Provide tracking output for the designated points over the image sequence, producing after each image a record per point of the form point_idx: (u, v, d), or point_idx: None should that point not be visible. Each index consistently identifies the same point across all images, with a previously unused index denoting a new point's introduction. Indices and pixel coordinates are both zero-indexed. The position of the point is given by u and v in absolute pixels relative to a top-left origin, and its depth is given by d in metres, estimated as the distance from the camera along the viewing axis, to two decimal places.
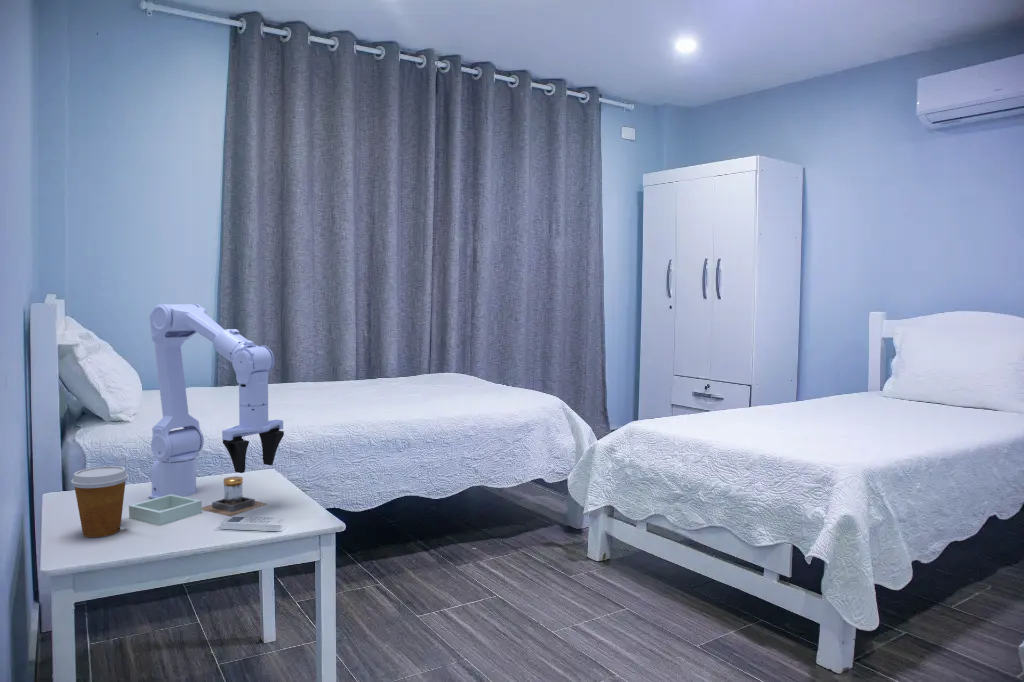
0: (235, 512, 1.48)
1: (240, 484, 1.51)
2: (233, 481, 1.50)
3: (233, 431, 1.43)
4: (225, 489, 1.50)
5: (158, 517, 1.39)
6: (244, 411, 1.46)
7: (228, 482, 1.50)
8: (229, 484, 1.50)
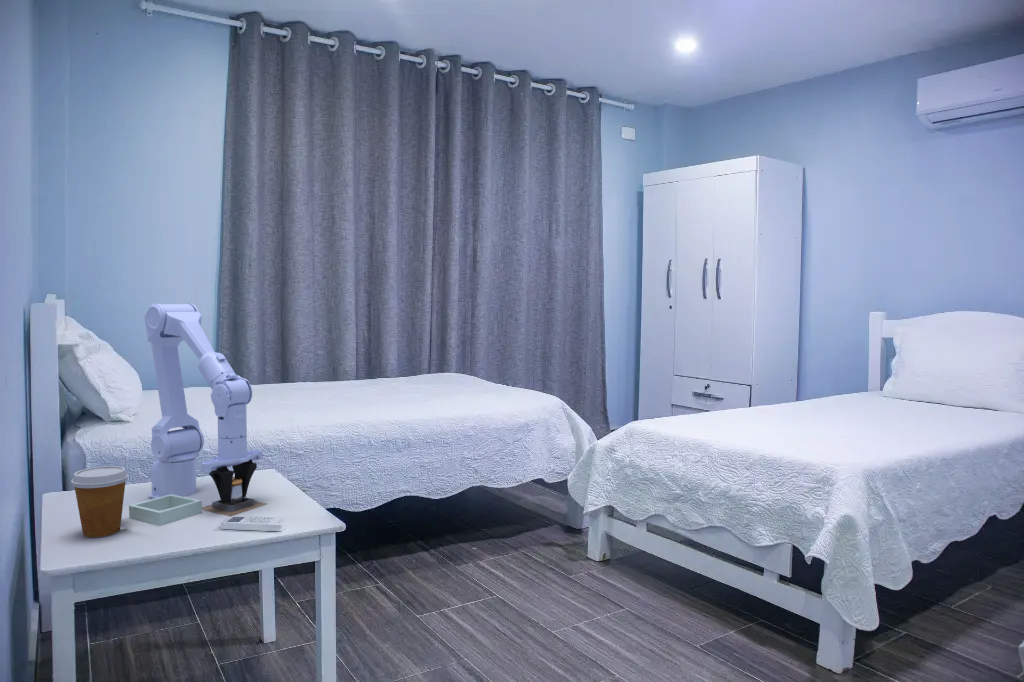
0: (235, 512, 1.48)
1: (240, 484, 1.51)
2: (233, 481, 1.50)
3: (211, 464, 1.45)
4: None
5: (158, 517, 1.39)
6: (222, 443, 1.48)
7: None
8: None
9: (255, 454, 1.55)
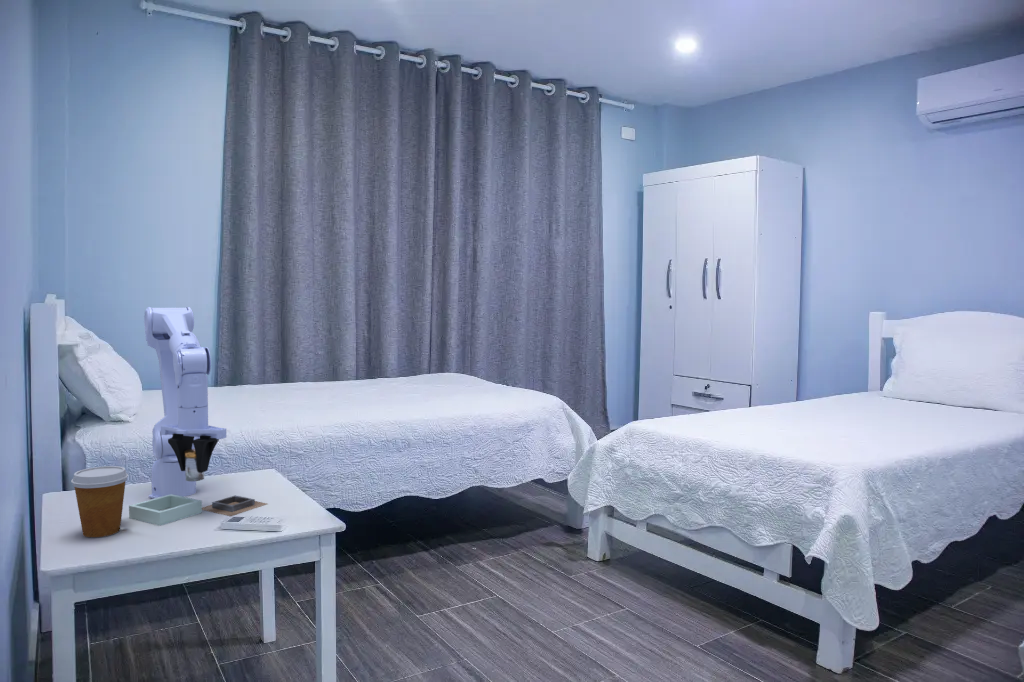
0: (235, 512, 1.48)
1: (189, 457, 1.46)
2: (184, 452, 1.47)
3: (164, 427, 1.48)
4: None
5: (158, 517, 1.39)
6: None
7: None
8: None
9: (208, 431, 1.44)
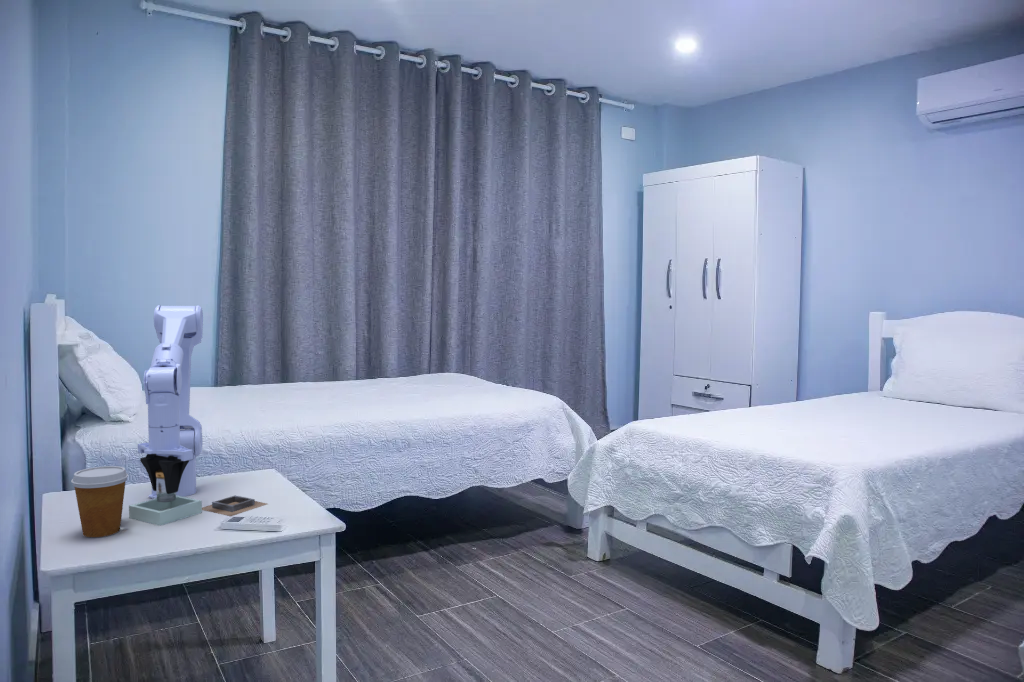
0: (235, 512, 1.48)
1: (158, 478, 1.43)
2: None
3: (140, 445, 1.47)
4: None
5: (158, 517, 1.39)
6: None
7: None
8: None
9: (173, 452, 1.41)
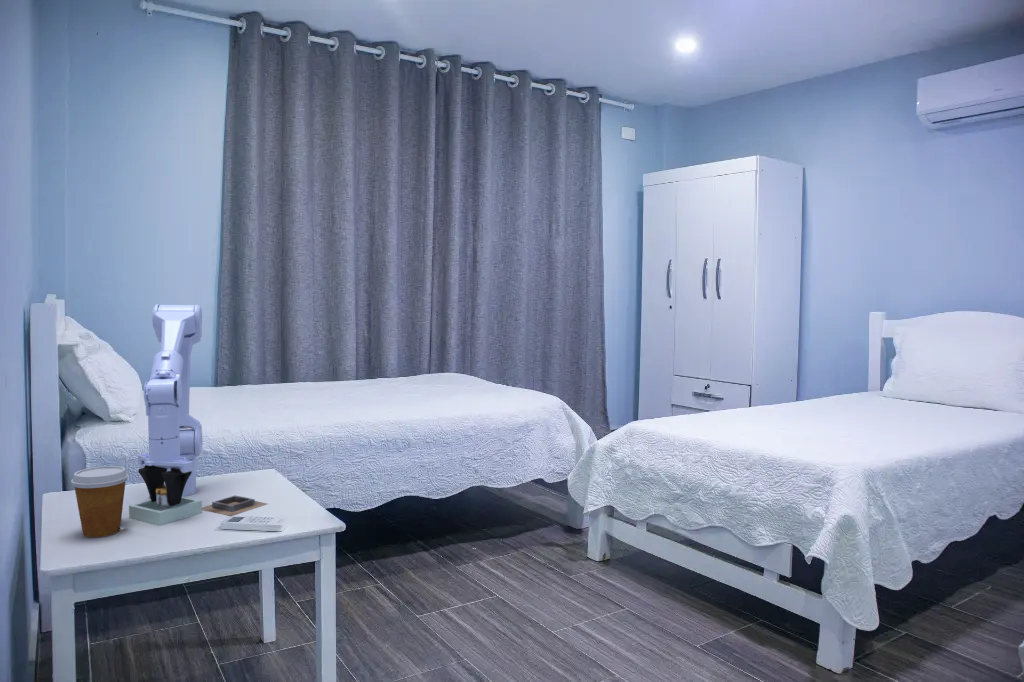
0: (235, 512, 1.48)
1: (158, 494, 1.44)
2: (156, 488, 1.45)
3: (140, 456, 1.47)
4: None
5: (158, 517, 1.39)
6: None
7: None
8: None
9: (173, 464, 1.41)
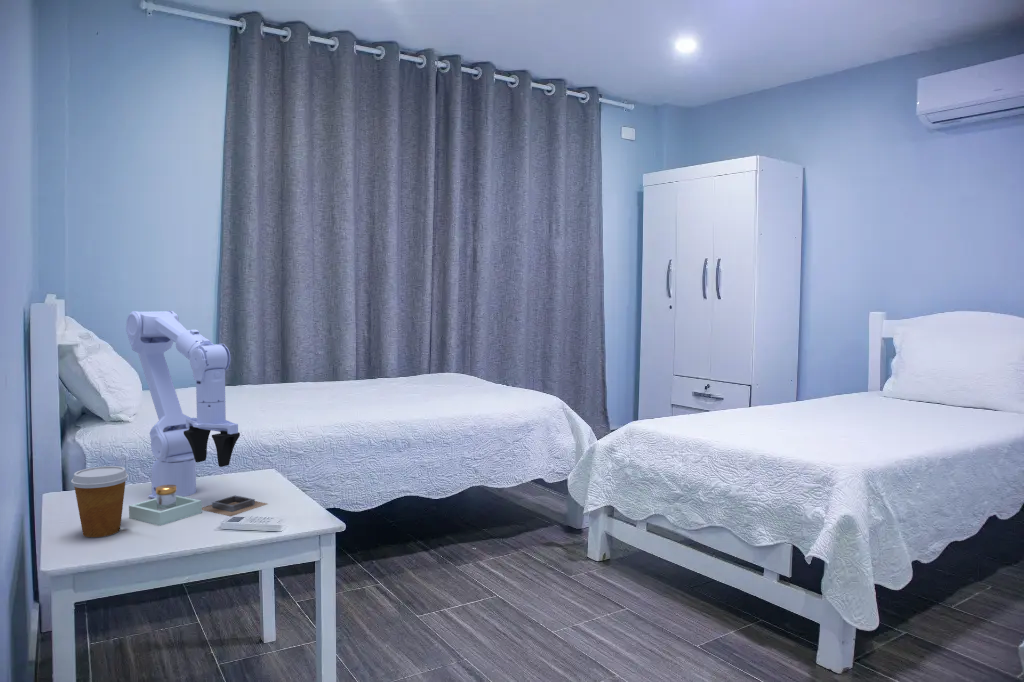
0: (235, 512, 1.48)
1: (158, 494, 1.44)
2: None
3: (188, 420, 1.54)
4: None
5: (158, 517, 1.39)
6: None
7: None
8: None
9: (220, 426, 1.48)
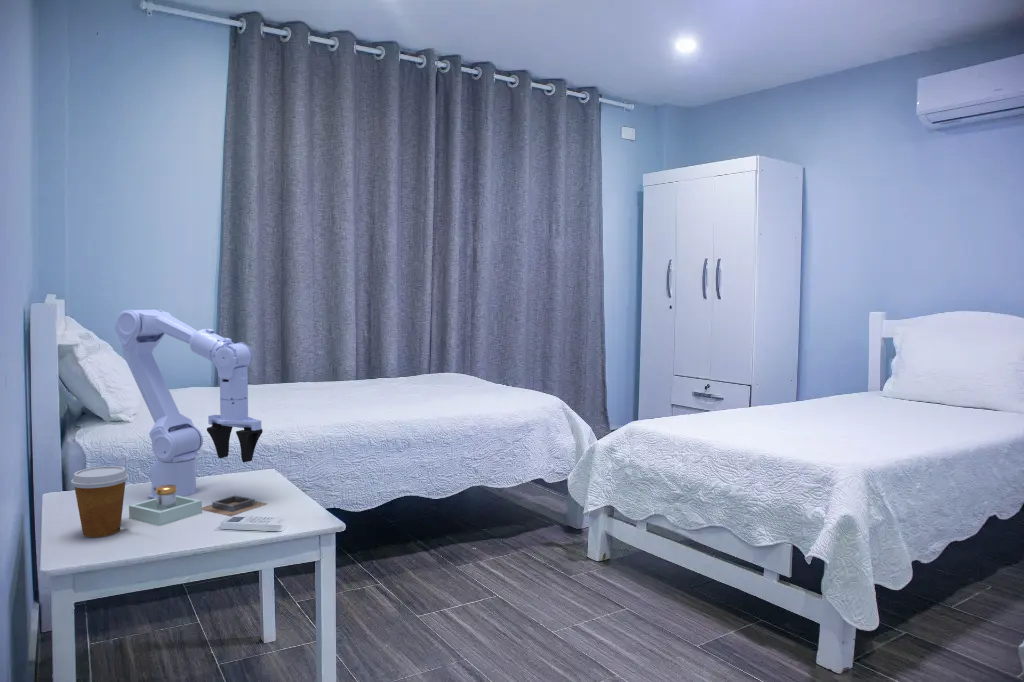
0: (235, 512, 1.48)
1: (158, 494, 1.44)
2: None
3: (211, 417, 1.58)
4: None
5: (158, 517, 1.39)
6: None
7: None
8: None
9: (244, 422, 1.53)
